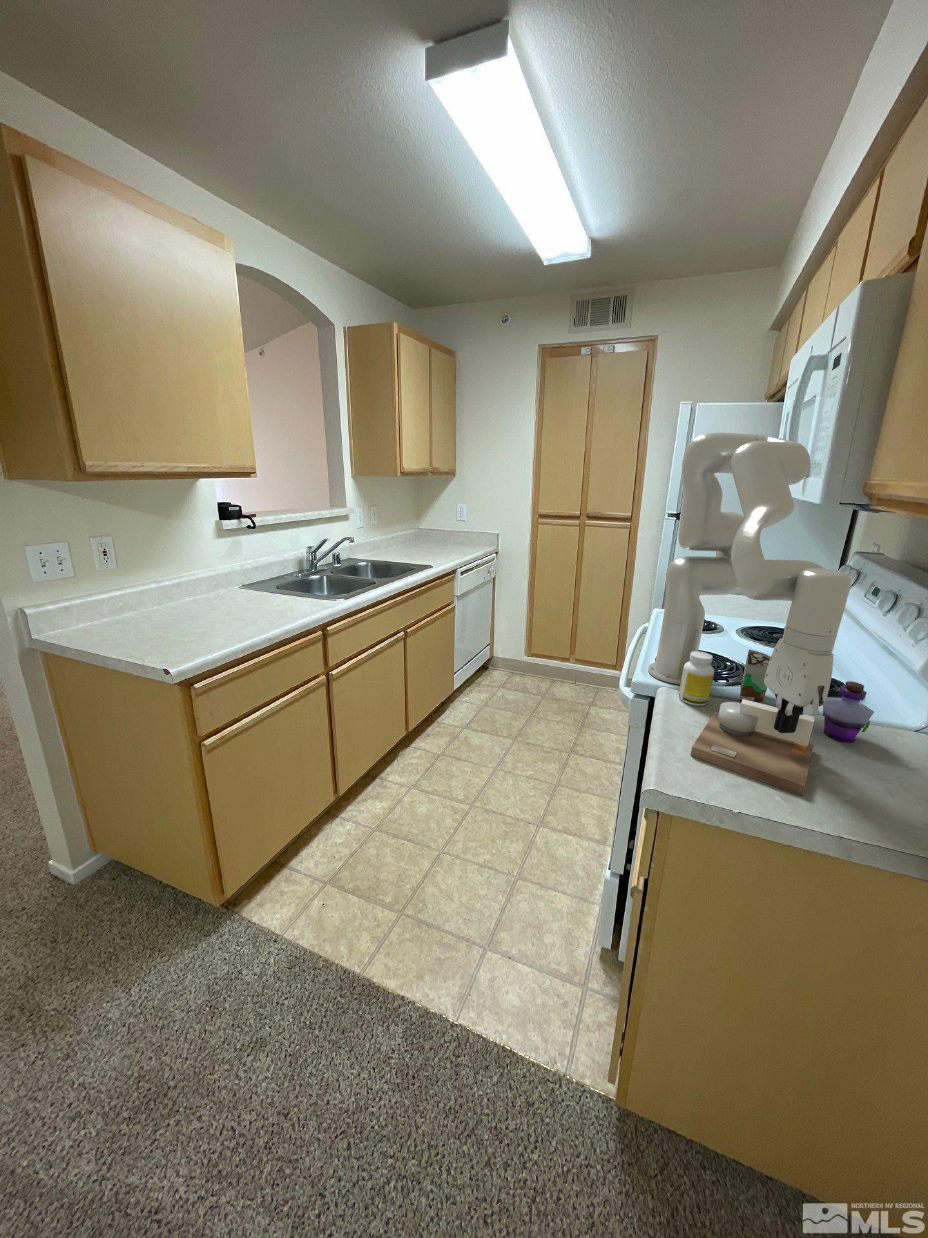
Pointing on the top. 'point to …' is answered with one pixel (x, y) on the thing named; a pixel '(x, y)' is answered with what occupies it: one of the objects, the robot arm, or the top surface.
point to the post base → (755, 755)
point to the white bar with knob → (762, 720)
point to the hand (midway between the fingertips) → (784, 730)
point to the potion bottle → (846, 713)
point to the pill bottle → (697, 679)
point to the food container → (754, 677)
